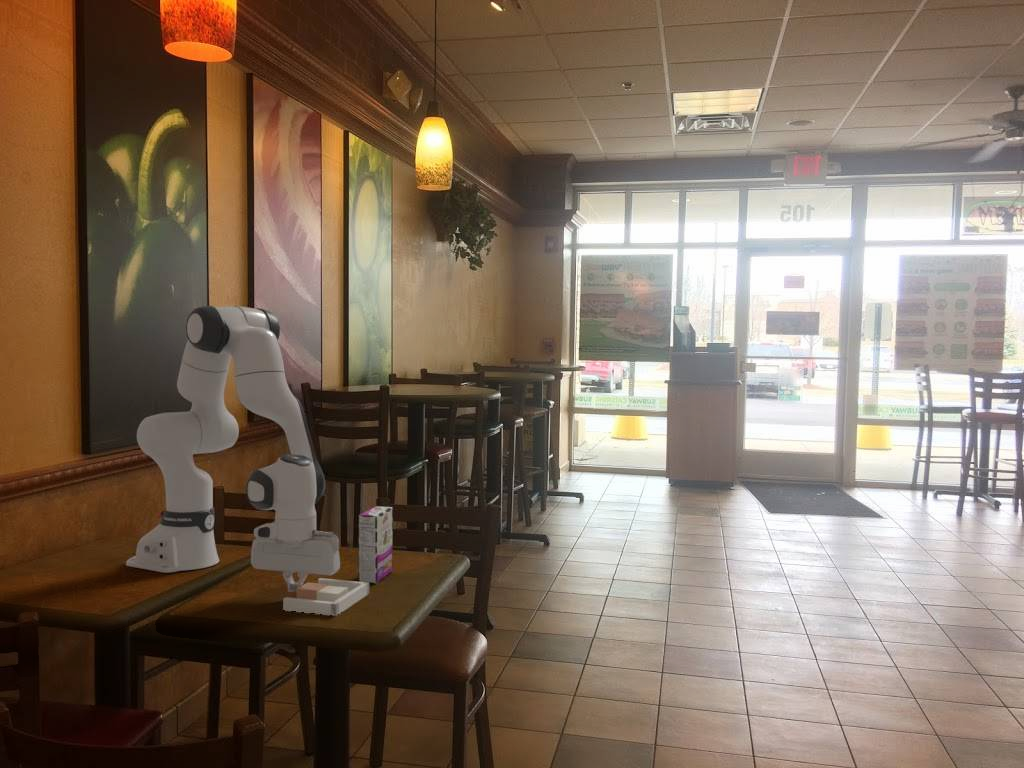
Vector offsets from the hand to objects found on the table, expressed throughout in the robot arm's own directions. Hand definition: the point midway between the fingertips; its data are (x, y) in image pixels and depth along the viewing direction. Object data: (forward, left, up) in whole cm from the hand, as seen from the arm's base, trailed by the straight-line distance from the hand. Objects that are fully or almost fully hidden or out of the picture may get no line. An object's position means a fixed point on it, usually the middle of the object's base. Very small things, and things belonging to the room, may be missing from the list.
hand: (295, 591), depth 176 cm
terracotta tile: (+4, 0, -2) cm, 4 cm away
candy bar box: (+10, +21, -2) cm, 23 cm away
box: (+8, 0, -2) cm, 8 cm away
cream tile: (+9, 0, -2) cm, 9 cm away
